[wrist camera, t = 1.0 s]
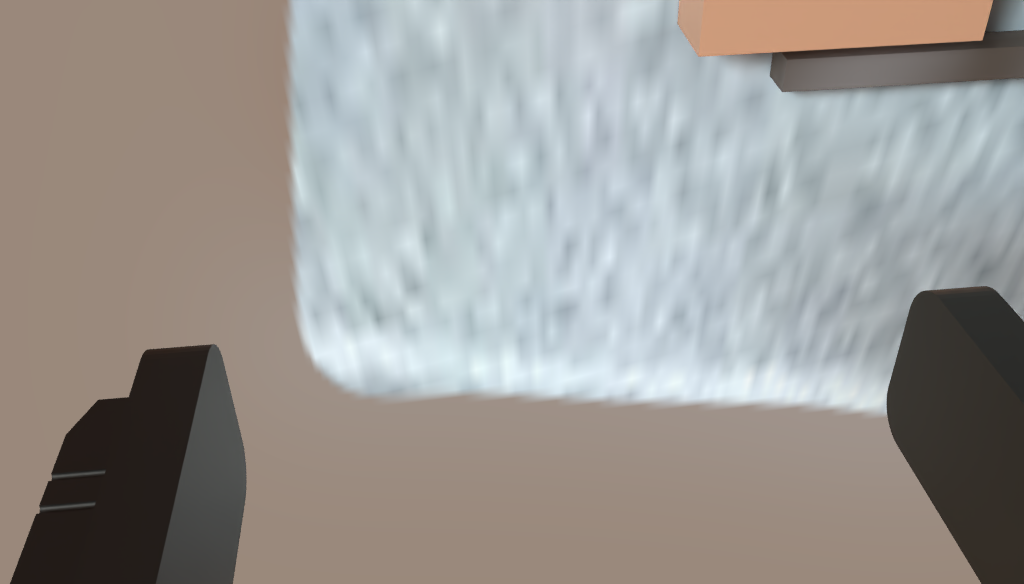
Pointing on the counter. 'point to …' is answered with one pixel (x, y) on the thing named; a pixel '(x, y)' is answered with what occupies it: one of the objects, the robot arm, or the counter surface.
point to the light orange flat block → (826, 24)
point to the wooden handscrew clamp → (901, 64)
